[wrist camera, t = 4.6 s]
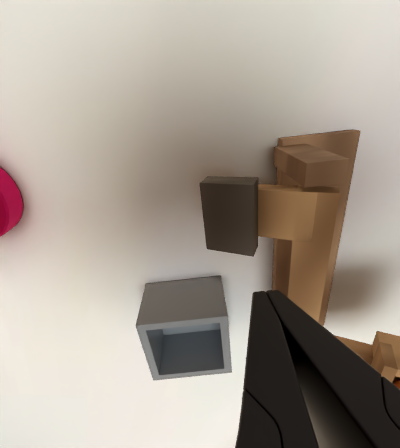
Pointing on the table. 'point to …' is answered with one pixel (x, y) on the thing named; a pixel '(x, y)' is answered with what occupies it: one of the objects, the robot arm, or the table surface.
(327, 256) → the catapult lever
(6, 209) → the pepper mill
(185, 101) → the table surface
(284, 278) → the frame
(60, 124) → the table surface
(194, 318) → the grey open box
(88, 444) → the table surface
